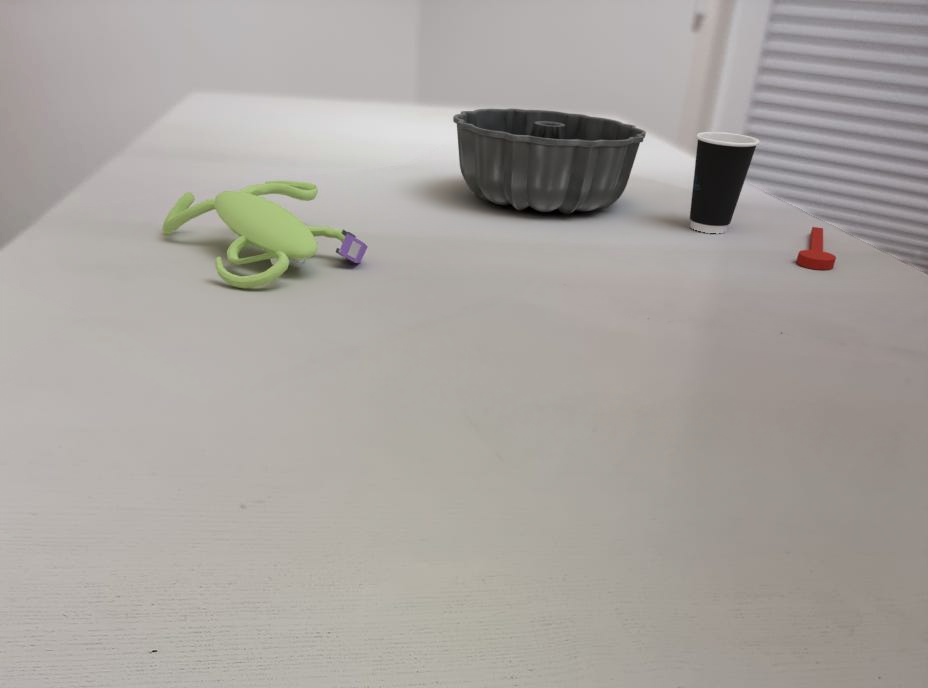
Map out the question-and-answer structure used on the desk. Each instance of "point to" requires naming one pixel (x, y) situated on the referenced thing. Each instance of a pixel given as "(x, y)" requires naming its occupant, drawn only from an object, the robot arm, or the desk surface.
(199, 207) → the figurine
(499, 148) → the bundt pan
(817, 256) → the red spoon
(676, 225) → the desk surface
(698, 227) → the dixie cup
